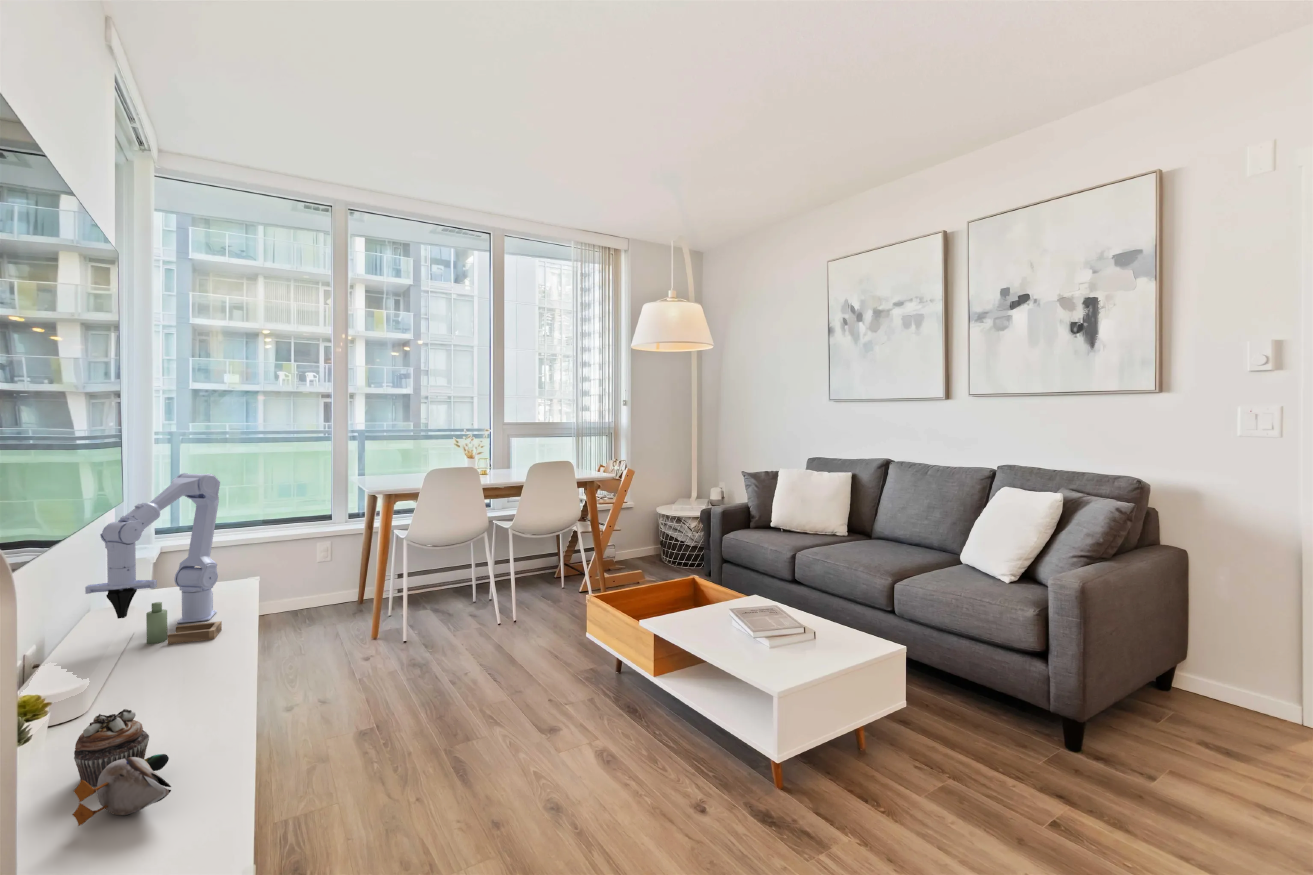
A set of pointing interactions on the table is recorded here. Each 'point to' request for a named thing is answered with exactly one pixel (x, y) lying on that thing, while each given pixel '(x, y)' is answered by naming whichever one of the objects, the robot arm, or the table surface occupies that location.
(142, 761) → the decorative duck model
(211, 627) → the u rest
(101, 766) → the cupcake
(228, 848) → the table surface
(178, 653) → the table surface
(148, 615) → the bottle
